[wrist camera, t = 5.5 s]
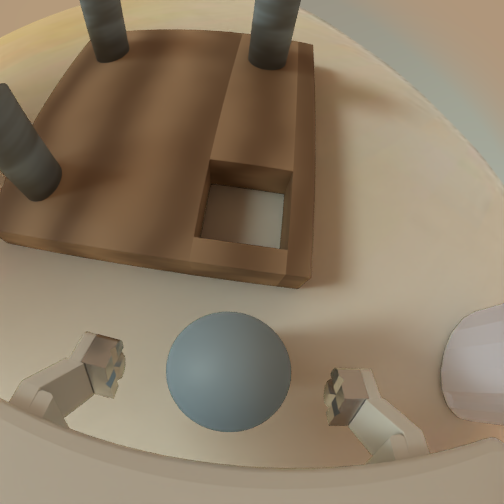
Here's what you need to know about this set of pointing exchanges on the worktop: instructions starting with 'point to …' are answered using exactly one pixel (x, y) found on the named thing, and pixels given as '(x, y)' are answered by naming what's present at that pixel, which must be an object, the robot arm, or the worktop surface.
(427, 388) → the worktop surface
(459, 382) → the white orange spray bottle
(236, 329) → the stool leg
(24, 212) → the stool
